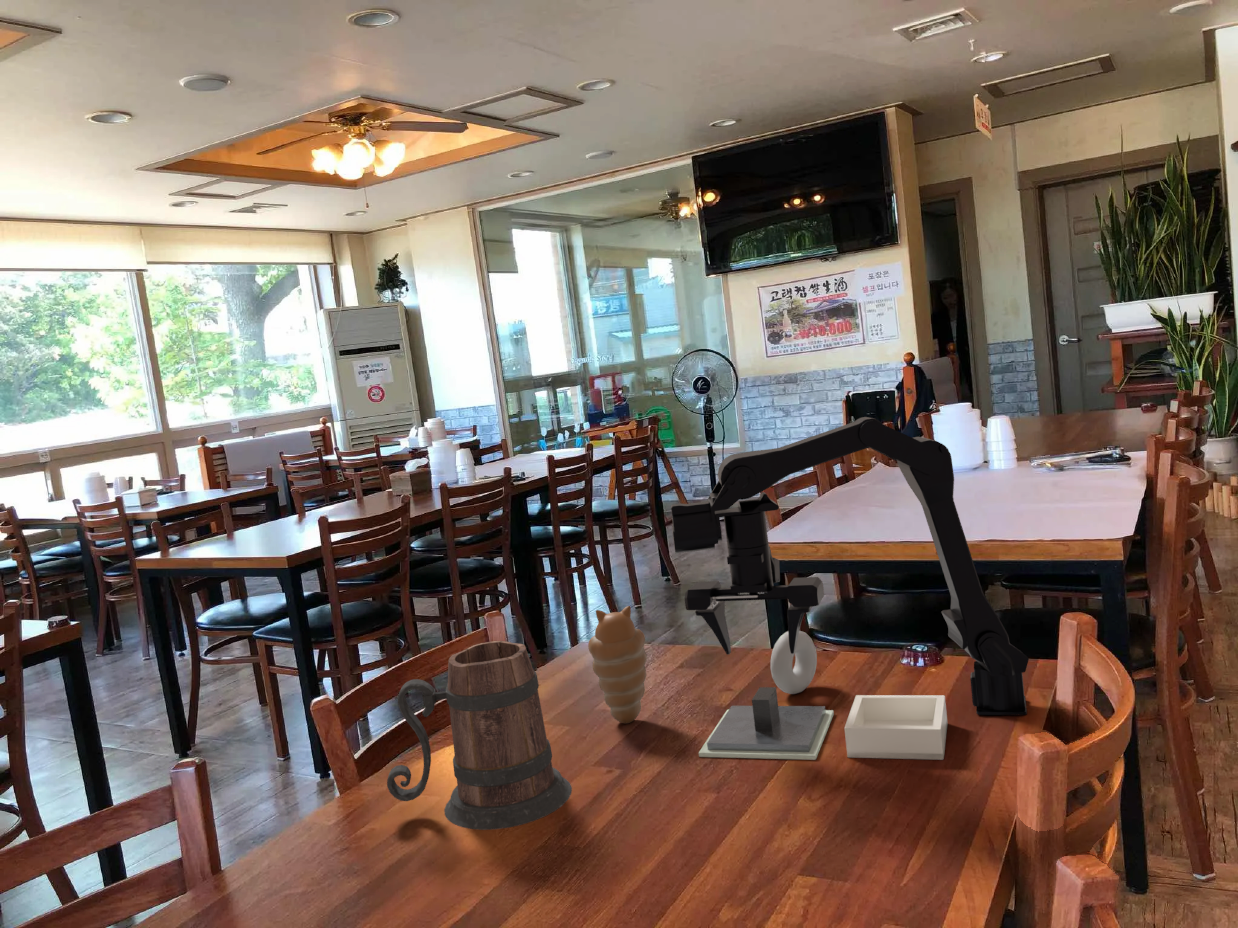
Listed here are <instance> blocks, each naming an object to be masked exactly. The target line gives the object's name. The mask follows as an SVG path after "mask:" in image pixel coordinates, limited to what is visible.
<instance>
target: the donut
mask: <svg viewBox="0 0 1238 928" xmlns="http://www.w3.org/2000/svg"><path fill="white" fill-rule="evenodd" d="M814 643H815V642H814V641H813V640H812V638H811V637H810V636H809V635H808V634H807V632H804V631H801V630H799V635H798V639H797V644H796V649H795V652H794V654H791V652H790V647H789V634H788V630H787V631H785V632H784V633H782V635H780V636H779V638H778V639H777V640H776V642H775V643H774V645H773V649H772V651H771V657H770V673H771V678H772V680H773V682H774V684H775V685H776V686H777V687H776V686H775V687H776V688H778V689H779V690H780V691H781V692H783V693H786V694H790V695H796V694H799V693H802V692H803V691H804V690H805V689H807V688H808V687H809V685H811V683H812V681H813V679H814V676H815V673H816V669H817V665H818V661H817V660H818V659H817V657H818V654H817V650H816V646H815V644H814ZM794 657H795V661H793V660H794ZM793 662H795V663H794V666H793Z"/></svg>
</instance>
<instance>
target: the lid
mask: <svg viewBox="0 0 1238 928" xmlns="http://www.w3.org/2000/svg"><path fill="white" fill-rule="evenodd" d="M825 710H826V706H825V705H823V706H822V705H815V706H813V705H779V701H778V692H777V687H776V686H774V687H772V686H771V687H769V686H767V687H765V686H763V687H762V686H759V687H758V689H757V691H756V692H755V694H754V696H753V697H752V699H751V705H731V706H730V707H729V711H728V712H727V714H726V715H725V717H724V718H723V720H722V721H721V723H720V724H719V726H718V727H717V729H716V730H715V732H714V733H713V735H712V736H711V738H710V739H709V741H708V742H707V747H708V750H730V751H774V752H810V750H811V747H812V745H813V742H814V740H815V737H816V735H817V733H818V730H819V728H820V725H821V723H822V721H823V718H824V716H825V713H826V711H825Z"/></svg>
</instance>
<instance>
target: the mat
mask: <svg viewBox="0 0 1238 928" xmlns="http://www.w3.org/2000/svg"><path fill="white" fill-rule="evenodd" d="M729 709H730V708H729ZM729 709H726V711H725V712H724V714H722V717H721V718H720V720H719V721H718V723H717V724H716V726H715V728H714V729H713V730H712V732H711V733H710V734H709V736H708V738H707V739H706V740H705V743H704V744H703V745H702V747H701V749H700V750H699V751H698V757H699V758H726V759H727V758H729V759H731V758H732V759H736V758H738V759H767V760H771V759H772V760H775V759H776V760H803V761H804V760H808V761H809V760H811V761H816V760H817V758H818V756H819V755H818V754H819V752H820V750H821V747H822V745H823V742H824V740H825V738H826V735H827V732H828V730H829V727H830V724H831V722H832V720H833V717H834V714H835V713H834V710H833V709H831V710H830V709H825V711H826V713H825V716H824V718H823V721H822V723H821V725H820V728H819V730H818V733H817V735H816V737H815V740H814V742H813V745H812V747H811V750H810V752H774V751H730V750H708V747H707V742H708V741H709V739H710V738H711V736H712V735H713V733H714V732H715V730H716V729H717V727H718V726H719V724H720V723H721V721H722V720H723V718H724V717H725V715H726V714H727V712H728V711H729Z"/></svg>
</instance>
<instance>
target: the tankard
mask: <svg viewBox="0 0 1238 928" xmlns="http://www.w3.org/2000/svg"><path fill="white" fill-rule="evenodd" d="M412 690H417V691H419V692H421V693H422V702H423V706H424V709H423V711H422V714H421V715H422V716H423V717H424V718H427V717H429V716H430V715H431V714H432V713H433V711H434V709H435V705H436V704H437V703H436V702H438V701H440V700H446V704H447V705H448V706H449V707H448V708H449V717H450V725H451V735H452V743H453V744H452V745H453V754H454V756H453V759H452V763H453V764H452V765H453V775H454V777H455V779H456V786H455V788H453V790H452V793H451V795H450V799H448V801H447V803H446V804H445V807H444V810H443V812H444V816H445V818H446V820H447V821H449V822H450V823H451V824H453V825H454V826H455V825H456V826H458V827H461V828H463V829H464V828H465V829H469V830H477V831H478V830H479V831H481V830H482V831H487V830H491V831H492V830H500V829H508V828H513V827H518V826H521V825H525V824H526V825H527V824H529V823H532V822H534V821H538V820H539V819H542V818H544V817H546V816H548V815H550V814H552V813H554V812H556V811H558V809H560V808H561V807H563V806H564V804H565V803H567V801H568V800H569V799H570V797H571V795H572V791H573V790H572V789H573V786H572V784H571V783H570V781H568V779H567V778H565V777H563V776H562V774H561V772H560V770H558V769H557V768H555V767H553V763H552V759H553V753H552V746H551V743H550V740H549V739H548V738H547V733H546V728H545V726H546V725H545V721H544V716H543V711H542V705H541V700H540V694H539V679H538V674H537V672H536V671H535V670H534V668H533V665H532V662H531V659H530V656H529V653H528V651H527V647H526V645H525V644H523V643H516V642H511V641H503V640H494V641H486V642H481V643H477V644H474V645H472V646H470V647H467V648H466V649H463V650H461V651H459V652H457V653H455V654H451V656H450V657H449V658H448V667H447V685H446V688H445V690H443V691H436V688H434V687H433V686H432V685H431V684H430V683H429V682H427V681H425V680H423V679H420V678H417V679H414V678H413V679H410V680H408V681H406V682H405V683H404V684H403V685H402V686H401V689H400V690H399V692H398V696H397V697H398V698H397V704H398V708H399V710H400V713H401V715H402V716H403V719H405V721H406V722H407V724H408V726H410V727H411V729H412V730H413V731H414V732H415V734H416V736H417V738H418V740H419V743H420V746H421V750H422V751H421V752H422V755H423V756H422V757H423V759H422V760H423V768H422V769H423V770H422V776H421V778H420V780H419V782H418V783H417V785H415V786H413V787H412V788H409V789H406V787H409V784H410V782H411V779H412V772H411V770H410V768H409V767H408V766H407V765H403V764H400V765H399V764H398V765H396V766H394V767H393V768H391V769H390V772H388V773H389V774H388V777H387V779H386V782H387V783H386V787H387V789H388V793H390V794H391V796H393V798H395V799H396V800H398V801H401V802H409V801H413V800H415V799H417V798H418V797H420V796H421V794H422V793H423V792H424V791H425V789H426V787H427V784H428V781H429V776H430V771H431V764H432V763H431V762H432V755H431V754H432V752H431V751H432V749H431V746H430V744H431V743H430V739H429V736H428V734H427V730H426V729H425V727H424V726H423V724H422V722H421V720H420V719H419V718H418V716H417V715H416V714H415V713H414V712H413V710H412V709H411V708H410V706H409V703H408V701H407V699H406V698H407V697H406V694H407V693H408V692H410V691H412ZM398 776H402V777H404V778H405V779H406V780H401V781H400V786H399V785H398V784H397V782H396V780H395V778H396V777H398ZM404 788H405V789H404Z"/></svg>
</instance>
